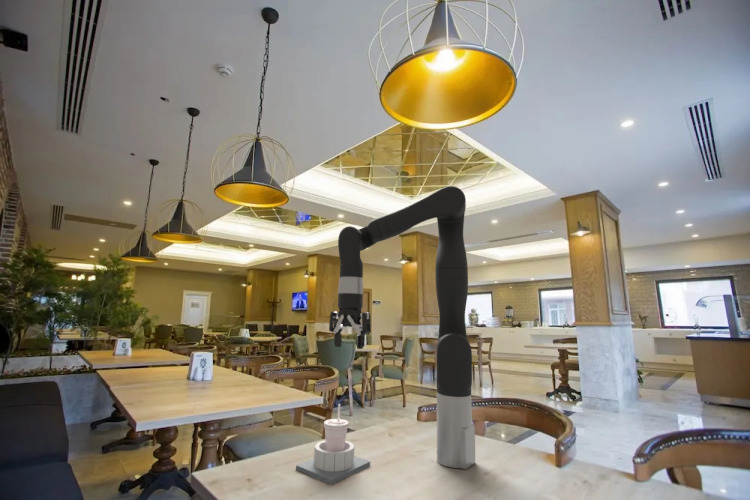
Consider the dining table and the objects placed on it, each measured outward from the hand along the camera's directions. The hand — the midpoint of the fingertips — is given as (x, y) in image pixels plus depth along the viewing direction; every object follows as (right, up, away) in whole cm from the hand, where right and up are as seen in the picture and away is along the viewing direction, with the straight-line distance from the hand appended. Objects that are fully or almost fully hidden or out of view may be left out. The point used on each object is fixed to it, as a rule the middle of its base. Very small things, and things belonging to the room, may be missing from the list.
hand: (348, 347), depth 109 cm
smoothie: (-2, -24, -17) cm, 30 cm away
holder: (-3, -25, -17) cm, 31 cm away
